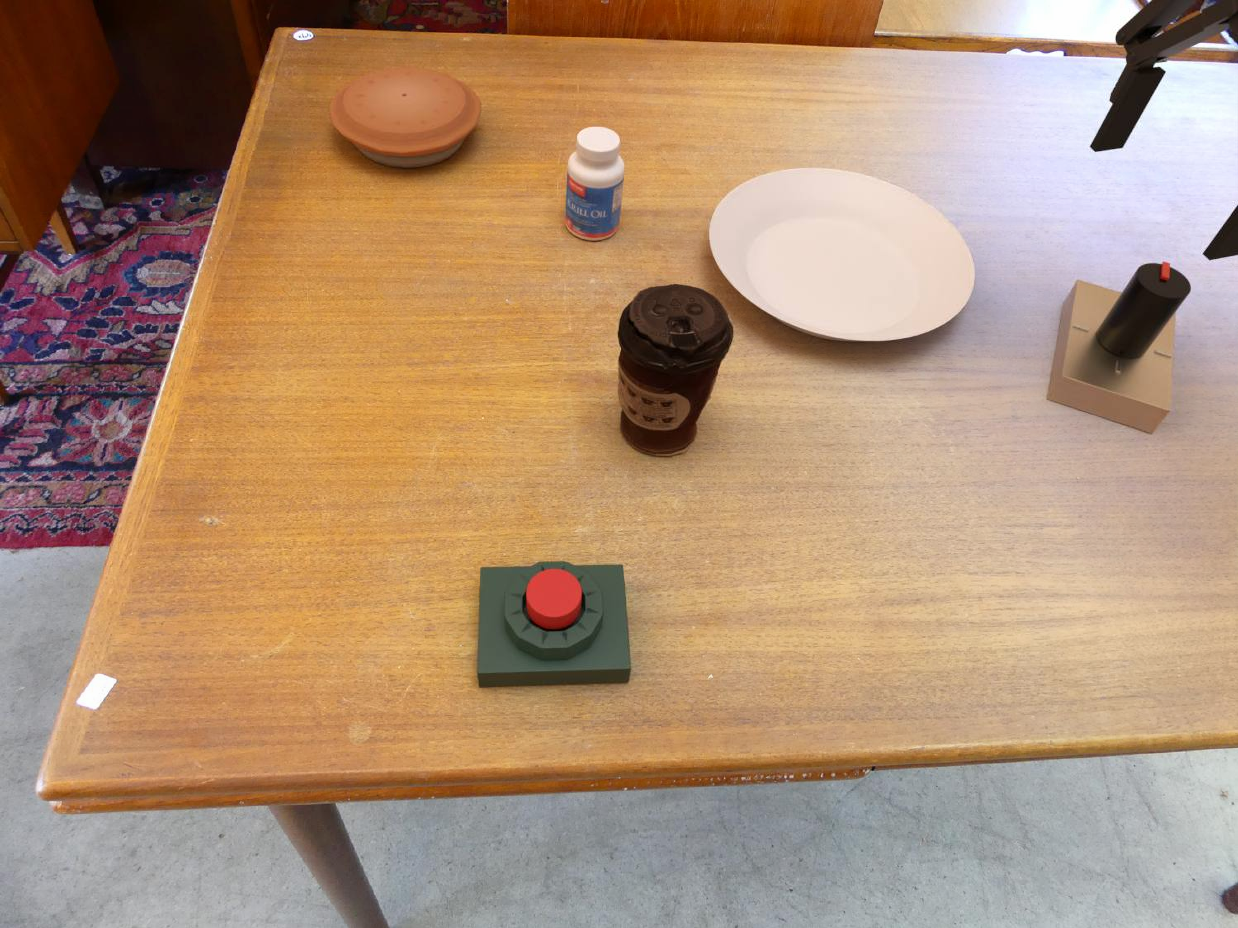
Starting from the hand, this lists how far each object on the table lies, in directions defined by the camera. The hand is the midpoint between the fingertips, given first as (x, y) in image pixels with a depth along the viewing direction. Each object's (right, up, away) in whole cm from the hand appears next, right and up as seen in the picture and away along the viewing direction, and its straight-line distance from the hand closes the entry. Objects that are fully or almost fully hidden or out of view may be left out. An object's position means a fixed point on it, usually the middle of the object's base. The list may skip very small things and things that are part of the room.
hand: (1159, 198), depth 70 cm
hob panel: (+3, -11, +14) cm, 18 cm away
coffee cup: (-38, -18, +6) cm, 42 cm away
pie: (-64, +15, +28) cm, 71 cm away
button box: (-46, -32, -6) cm, 56 cm away
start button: (-46, -30, -9) cm, 55 cm away
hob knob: (+3, -9, +12) cm, 15 cm away
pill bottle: (-44, +3, +21) cm, 49 cm away
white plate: (-21, -2, +19) cm, 28 cm away
